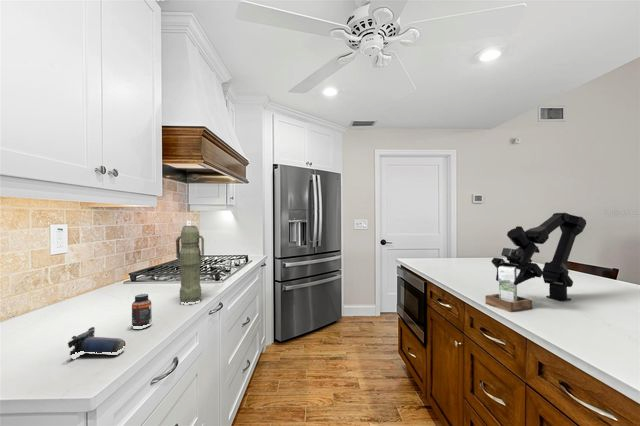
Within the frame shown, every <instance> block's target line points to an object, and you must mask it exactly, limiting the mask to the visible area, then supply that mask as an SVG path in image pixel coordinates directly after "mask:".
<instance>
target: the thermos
mask: <svg viewBox="0 0 640 426" xmlns="http://www.w3.org/2000/svg"><path fill="white" fill-rule="evenodd" d="M200 239H201V240H200ZM200 243H201V246H200V245H199V244H200ZM180 244H181V246H180ZM204 245H205V239H204V237H203V235H200V231H199V228H198V226H196V225H184V226H182V228H181V230H180V235H179V236H177V237H176V238H175V248H176V249H175V251H176V252H175V253H176V255H175V257H176V259H178V261H179V266H180V287H179V301H181V302H184V303H185V302H186V303H188V302H196V301H199V300H200V299H202V286H201V266H200V265H201V262H202V259H204V257H205V256H204V255H205V246H204ZM200 247H201V249H200Z"/></svg>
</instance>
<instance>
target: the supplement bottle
mask: <svg viewBox="0 0 640 426" xmlns="http://www.w3.org/2000/svg"><path fill="white" fill-rule="evenodd" d="M152 316H153V315H152V300H151V299H149V294H148V293H140V294H136V295H135V296H134V302H132V304H131V326H132V325H133V326H143V325H147V324H150V323H151V322H152Z"/></svg>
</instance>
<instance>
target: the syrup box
mask: <svg viewBox="0 0 640 426" xmlns="http://www.w3.org/2000/svg"><path fill="white" fill-rule="evenodd" d="M517 276H518V275H517V269H516V267H508V266H499V268H498V277H499V281H498V294H499V299H502V300H505V301H509V302H513V301H517V296H518V285H514V281H515V279H516V278H517Z"/></svg>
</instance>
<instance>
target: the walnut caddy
mask: <svg viewBox="0 0 640 426" xmlns="http://www.w3.org/2000/svg"><path fill="white" fill-rule="evenodd" d="M485 305H489V306H490V307H495V308H497V309H500V310H504V311H506V312H509V313H515V312H521V311H526V310H531V309H533V300H532V299H530V298H525V297H523V296H519V295H517V301H513V302H509V301H505V300H502V299H499V293H495V294H487V295H485Z"/></svg>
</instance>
